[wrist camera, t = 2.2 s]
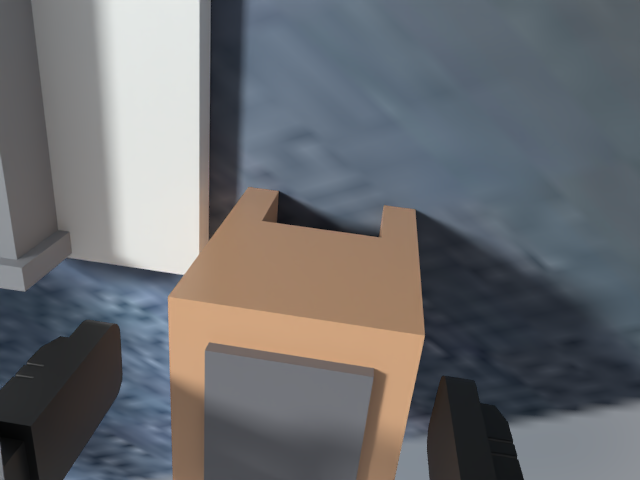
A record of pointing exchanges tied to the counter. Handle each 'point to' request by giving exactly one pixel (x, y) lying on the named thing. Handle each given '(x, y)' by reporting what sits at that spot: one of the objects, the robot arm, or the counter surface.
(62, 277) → the counter surface
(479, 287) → the counter surface
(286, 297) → the block
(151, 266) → the rail board
